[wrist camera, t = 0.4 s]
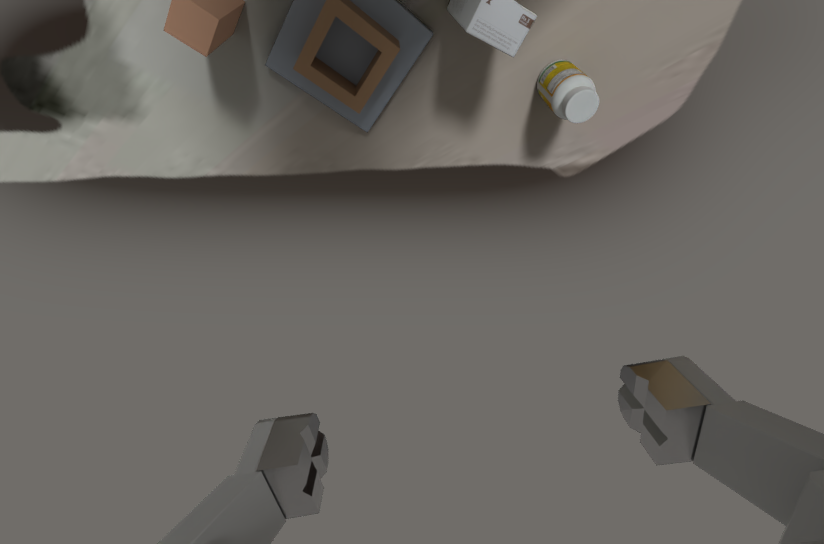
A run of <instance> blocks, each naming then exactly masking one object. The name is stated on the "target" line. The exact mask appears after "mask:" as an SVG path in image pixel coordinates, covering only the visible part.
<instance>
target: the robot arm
mask: <svg viewBox="0 0 824 544" xmlns="http://www.w3.org/2000/svg"><path fill="white" fill-rule="evenodd" d="M620 378H621V380H622V381H623V382H624V383H625V384H624V385H623V386H622V387H621V388H620V389H619V392H618V393H619V394H618V402H619V406H620V411H621V413H622V415H623V417H624V419H625V420H626V422H627V424H628V425H629V427H630V428H632V429H634V430H636V431H637V432H639V433H641V439H640V443H641V444H642V445H643V447H644V448H645V450H646V451H647V453H648V454H649V456H650V457H651V458H652V460H653V461H654V463H655V464H656V465H664V464H673V463H682V462H691V461H693V464H695V465H696V466H698V467H699V468H701V469H702V470H704V471H705V472H707V473H708V474H710V475H711V476H713V477H714V478H716V479H717V480H719V481H720V482H721V483H723V484H724V485H726V486H727V487H729V488H730V489H732V490H734V491H735V492H736V493H738V494H739V495H741V496H742V497H744V498H745V499H747V500H748V501H750V502H751V503H753V504H754V505H756V506H757V507H759V508H760V509H762V510H763V511H764V512H766V513H768V514H769V515H770V516H772V517H773V518H775V519H776V520H778V521H779V522H781V523H782V524H784V525H785V526H786V528H785V530H784V532H783V534H782V536H781V539H780V541H779V544H824V434H823V433H820V432H818V431H815V430H813V429H811V428H808V427H806V426H803V425H801V424H798V423H796V422H794V421H791V420H789V419H786V418H783V417H782V416H779V415H777V414H774V413H772V412H769V411H767V410H765V409H762V408H759V407H757V406H755V405H752V404H750V403H748V402H745V401H735V400H734V399H733V398H732V397H731V396H730V395H729V394H728V393H727V392H726V391H724V390H723V389H722V388H721V387H720V386H719V385H718V384H717V383H716V382H715V381H713V380H712V379H711V378H710V377H709V376H708V375H707V374H706V373H705V372H704V371H702V370H701V369H700V368H699V367H698V366H697V365H696V364H695V363H694V362H693V361H692V360H690V359H689V358H687V357H685V356H679V357H673V358H666V359H662V360H655V361H648V362H643V363H636V364H630V365H624V366H623V367H622V369H621V373H620ZM319 425H320V422H319V419H318V417H317V414H315V413H308V414H300V415H293V416H285V417H278V418H272V419H264V420H259V421H258V422H257V423H256V424H255V426H254V428H253V430H252V433H251V436H250V438H249V440H248V442H247V445H246V447H245V450H244V452H243V454H242V457H241V459H240V461H239V464H238V466H237V468H236V471H235V474H234V475H232V476H228V477H227V478H226V479H224V480H223V481H222V482H221V483H220V484H219V485H218V486H217V487H216V488H215V489H214V490H213V491H212V492H211V493H210V494H209V495H208V496H207V497H206V498H205V499H203V501H201V502H200V504H198V505H197V506H196V507H195V508H194V509H193V510H192V511H191V512H190V513H189V514H188V515H187V516H186V517H185V518H184V519H182V520H181V521H180V522H179V523H178V524H177V525H176V526H175V527H174V528H173V529H172V530H171V531H170V532H169V533H168V534H167V535H166V536H165V537H164V538H163V539H162V540H160V541H159V542H158V543H157V544H271V542H272V541H273V539H274V538H275V536H276V535H277V534H278V532H279V531H280V529H281V528H282V526H283V525H284V524H285V522H286V520H285V519H289V518H295V517H301V516H307V515H312V514H318V513H319V511H320V505H321V500H322V495H323V489H324V487H323V485H322V482H321V478H322V477H323V475H324V474H325V473H326V472H327V466H328V445H327V440H326V437H325V435H324V434H323V433H321V432H320V431H318V430H319Z"/></svg>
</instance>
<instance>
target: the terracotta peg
mask: <svg viewBox="0 0 824 544" xmlns="http://www.w3.org/2000/svg"><path fill="white" fill-rule="evenodd" d="M244 4H245V1H243V0H172V1H171V5H170V9H169V12H168V16H167V20H166V23H165V27H164V31H165V32H167V33H169V34H170V35H172V36H173V37H175V38H177V39H178V40H180V41H181V42H183V43H185V44H186V45H188V46H189V47H191V48H193V49H194V50H196V51H197V52H199V53H201V54H202V55H204V56H205V57H207V56H208V55H209V54H210V53H211V52H213V51H214V50H215V49H216V48H217V47H219V46H220V45H221V44H222V43H223V42H224V41H226V40H227V39H228V38H229V37H230V36H231V35H233V33H234V31H235V28H236V25H237V23H238V20H239V17H240V15H241V12H242V9H243V7H244Z"/></svg>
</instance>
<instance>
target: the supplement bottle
mask: <svg viewBox="0 0 824 544" xmlns="http://www.w3.org/2000/svg"><path fill="white" fill-rule="evenodd" d="M537 90H538V93H539V95H540V96H541V98H542V99H543V100H544V101H545V102H546V104H547V105H548V106H549V107H550V109H551V110H552V111H553V112H554V113H555V114H556V115H557V116H558V117H559V118H561V119H565V120H569V121H570V122H572V123H582V122H585V121H586V120H588V119H590V118H591V117H592V116H593V115H594V114H595V112H596V111H597V109H598V106H599V97H598V95H597V93H596V88H595V85H594V83H593V81H592V80H591V79H590V78H589V77H588V76H587V75H585V74H584V73H583V72H582V71H580V70H579V69H578V68H577V67H576V66H574V65H573V64H572V63H571V62H569V61H567V60H557V61H554V62H552V63H550V64H549V65H547V66H546V67H545V68H544V69H543V71H542V72H541V74H540V75H539V78H538V81H537Z"/></svg>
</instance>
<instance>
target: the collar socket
mask: <svg viewBox="0 0 824 544" xmlns="http://www.w3.org/2000/svg"><path fill="white" fill-rule="evenodd" d="M432 36H433V32H432V31H431V30H430V29H429V28H428V27H426V26H425V25H424V24H423V23H422V22H421V21H420V20H418V19H417V18H416V17H415V16H414V15H413V14H412V13H410V12H409V11H408V10H407V9H406V8H405V7H404V6H403V5H401V4H400V3H399V2H398V1H397V0H293V3H292V5H291V7H290V9H289V12H288V14H287V16H286V18H285V21H284V23H283V25H282V28H281V30H280V32H279V34H278V37H277V39H276V41H275V43H274V46H273V48H272V50H271V52H270V55H269V57H268V59H267V62H266V64H265V65H266V66H267V67H269V68H270V69H272V70H273V71H275V72H276V73H278V74H279V75H281V76H282V77H284V78H285V79H287V80H288V81H290V82H291V83H293V84H294V85H296V86H297V87H299V88H300V89H302V90H303V91H305V92H306V93H308V94H310V95H311V96H313V97H314V98H316V99H317V100H319V101H320V102H322V103H323V104H325V105H326V106H328V107H329V108H331V109H332V110H334V111H335V112H337V113H338V114H340V115H341V116H343V117H344V118H346V119H347V120H349V121H350V122H352V123H354V124H355V125H357V126H358V127H360V128H361V129H363V130H364V131H366V132H368V131H369V130H370V128H371V127H372V125H373V124H374V122H375V121H376V119H377V118H378V116H379V115H380V113H381V112H382V110H383V109H384V107H385V106H386V104H387V103H388V101H389V100H390V98H391V97H392V95H393V94H394V92H395V91H396V89H397V88H398V86H399V85H400V83H401V82H402V80H403V79H404V77H405V76H406V74H407V73H408V71H409V70H410V68H411V67H412V65H413V64H414V62H415V61H416V59H417V58H418V56H419V55H420V53H421V52H422V50H423V49H424V47H425V46H426V44H427V43H428V42H429V40H430V39H431V37H432Z"/></svg>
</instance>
